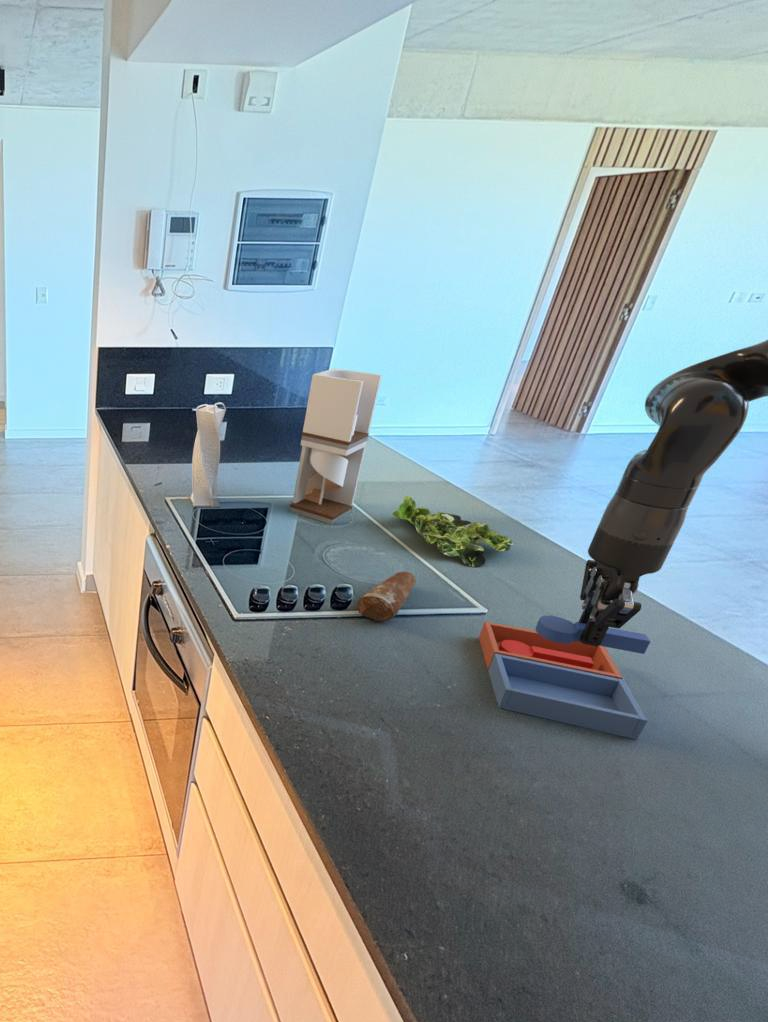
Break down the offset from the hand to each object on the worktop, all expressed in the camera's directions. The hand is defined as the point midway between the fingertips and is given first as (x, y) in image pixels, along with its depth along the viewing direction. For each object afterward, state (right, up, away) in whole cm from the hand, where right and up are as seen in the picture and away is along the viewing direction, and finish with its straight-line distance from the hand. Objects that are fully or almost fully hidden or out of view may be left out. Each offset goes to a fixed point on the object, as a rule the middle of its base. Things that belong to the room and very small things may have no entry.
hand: (586, 638), depth 88 cm
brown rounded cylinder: (-11, +2, +32) cm, 34 cm away
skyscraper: (-36, +24, +77) cm, 88 cm away
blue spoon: (+1, 0, 0) cm, 1 cm away
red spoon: (+5, -6, +14) cm, 16 cm away
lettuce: (+16, +14, +56) cm, 60 cm away
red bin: (+5, -7, +14) cm, 16 cm away
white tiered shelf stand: (-7, +21, +71) cm, 75 cm away
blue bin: (+1, -11, +6) cm, 12 cm away
